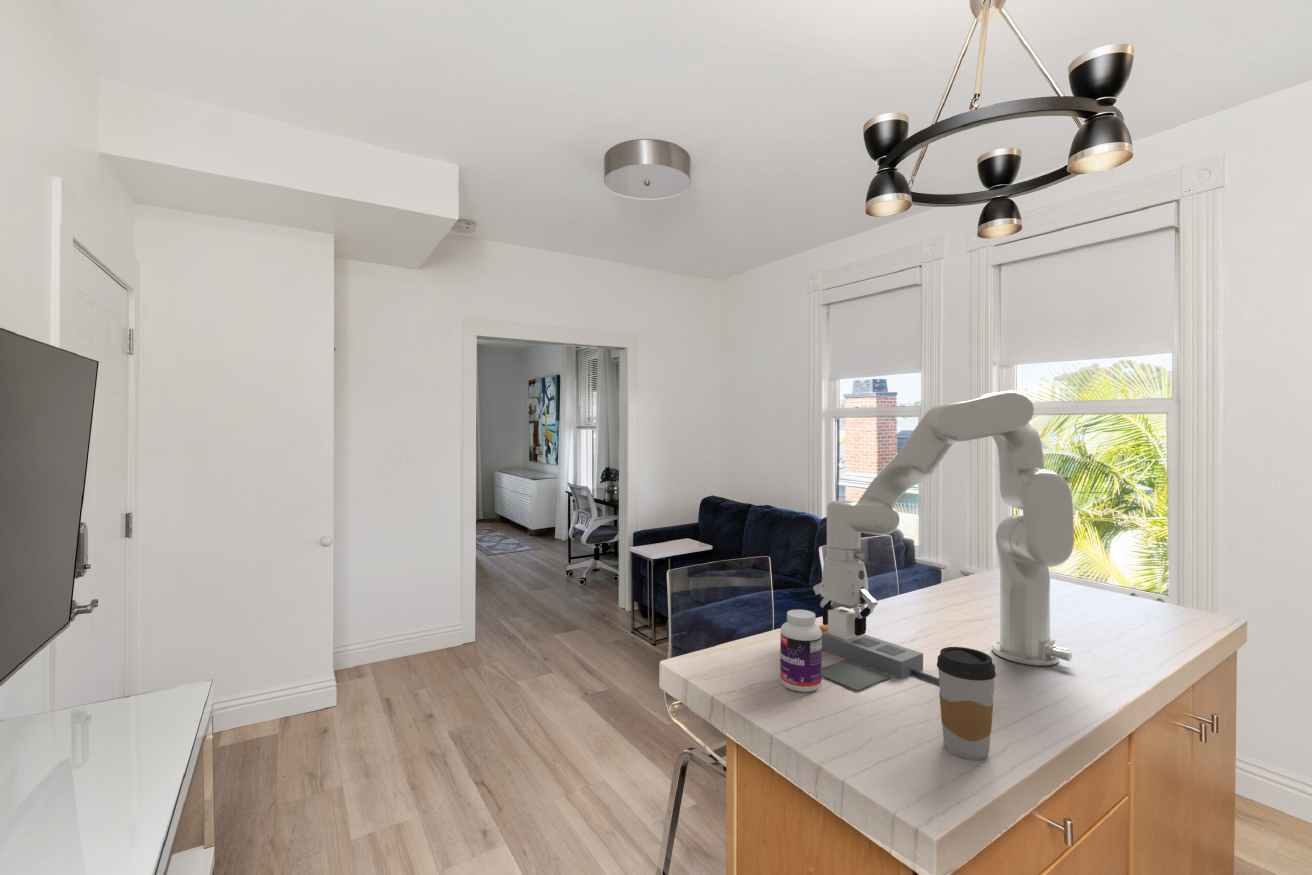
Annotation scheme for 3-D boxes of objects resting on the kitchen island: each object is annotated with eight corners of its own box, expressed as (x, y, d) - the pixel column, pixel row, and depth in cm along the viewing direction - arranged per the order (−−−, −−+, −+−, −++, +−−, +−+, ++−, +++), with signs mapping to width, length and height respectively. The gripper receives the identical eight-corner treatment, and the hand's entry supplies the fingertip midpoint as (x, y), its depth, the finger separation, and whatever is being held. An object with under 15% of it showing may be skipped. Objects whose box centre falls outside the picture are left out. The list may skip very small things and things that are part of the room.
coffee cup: (989, 740, 94) (989, 648, 94) (1002, 768, 86) (1002, 668, 86) (933, 732, 97) (933, 643, 97) (940, 758, 89) (940, 661, 89)
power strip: (981, 689, 113) (981, 668, 112) (960, 700, 108) (960, 678, 108) (830, 637, 142) (830, 620, 142) (808, 644, 137) (808, 626, 137)
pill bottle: (771, 683, 116) (771, 612, 116) (797, 673, 121) (797, 604, 121) (804, 698, 109) (804, 622, 109) (830, 686, 114) (830, 614, 114)
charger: (859, 635, 133) (859, 611, 133) (846, 639, 130) (846, 615, 130) (841, 629, 137) (841, 605, 137) (828, 633, 135) (828, 609, 135)
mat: (890, 678, 118) (890, 676, 118) (857, 692, 112) (857, 690, 112) (845, 661, 127) (845, 659, 127) (812, 673, 121) (812, 671, 121)
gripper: (886, 558, 129) (886, 636, 129) (823, 546, 143) (823, 616, 143) (866, 563, 125) (866, 643, 125) (803, 550, 139) (803, 622, 139)
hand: (843, 628), depth 134 cm, fingers open, 8 cm apart
